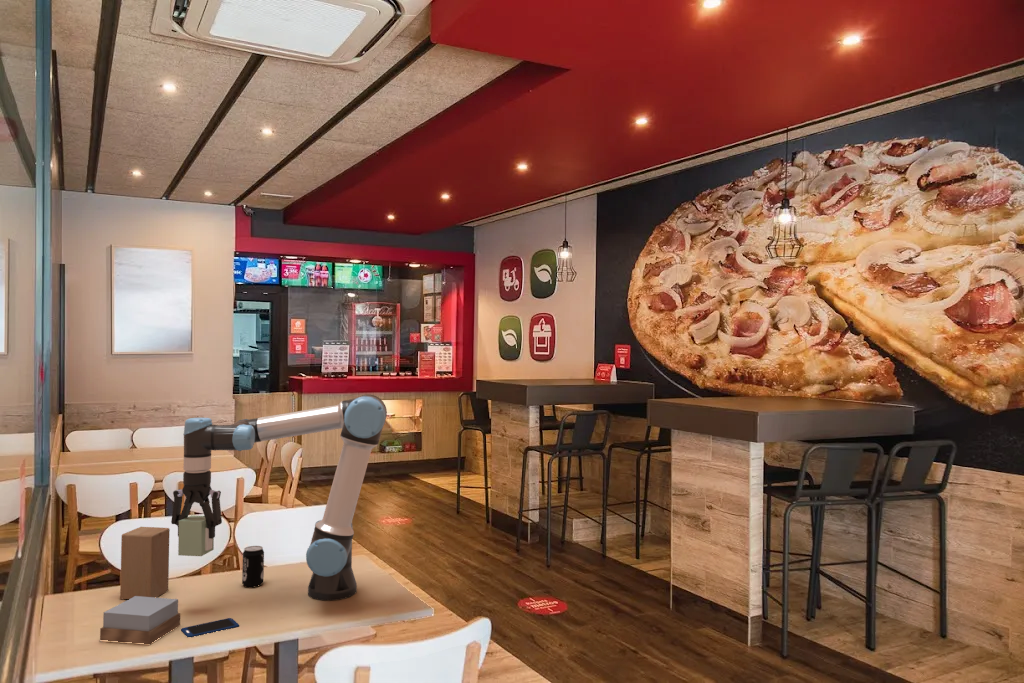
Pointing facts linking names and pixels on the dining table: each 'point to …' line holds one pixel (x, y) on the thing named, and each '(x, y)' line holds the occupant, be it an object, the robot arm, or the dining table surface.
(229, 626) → the cell phone
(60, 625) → the dining table surface
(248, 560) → the beverage can
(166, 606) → the slate top block
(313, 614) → the dining table surface
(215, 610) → the dining table surface
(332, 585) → the robot arm
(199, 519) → the sage block
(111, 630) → the walnut base block
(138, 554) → the wooden block
